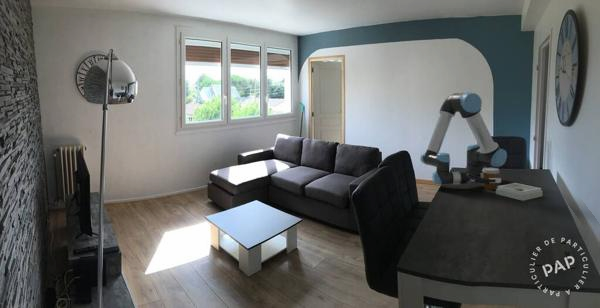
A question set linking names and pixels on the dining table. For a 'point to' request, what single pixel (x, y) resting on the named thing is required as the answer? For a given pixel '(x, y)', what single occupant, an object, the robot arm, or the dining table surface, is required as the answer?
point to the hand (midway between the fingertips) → (496, 177)
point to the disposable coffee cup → (490, 176)
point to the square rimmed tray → (519, 191)
